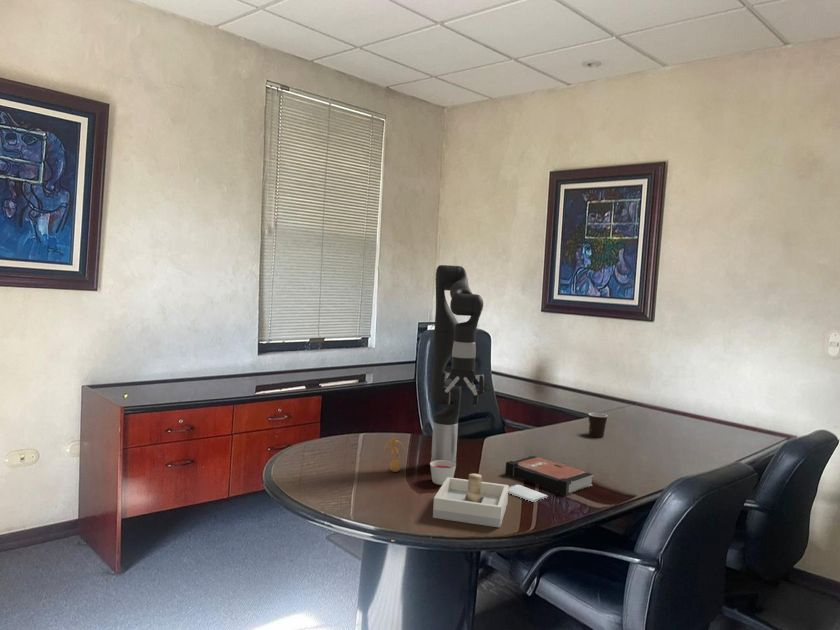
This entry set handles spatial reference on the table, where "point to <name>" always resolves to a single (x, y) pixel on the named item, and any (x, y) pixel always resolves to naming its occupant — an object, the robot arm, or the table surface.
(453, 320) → the robot arm
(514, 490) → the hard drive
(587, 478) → the book
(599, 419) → the coffee mug
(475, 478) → the peg
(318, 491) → the table surface
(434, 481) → the white cup
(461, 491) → the tray
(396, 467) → the figurine
